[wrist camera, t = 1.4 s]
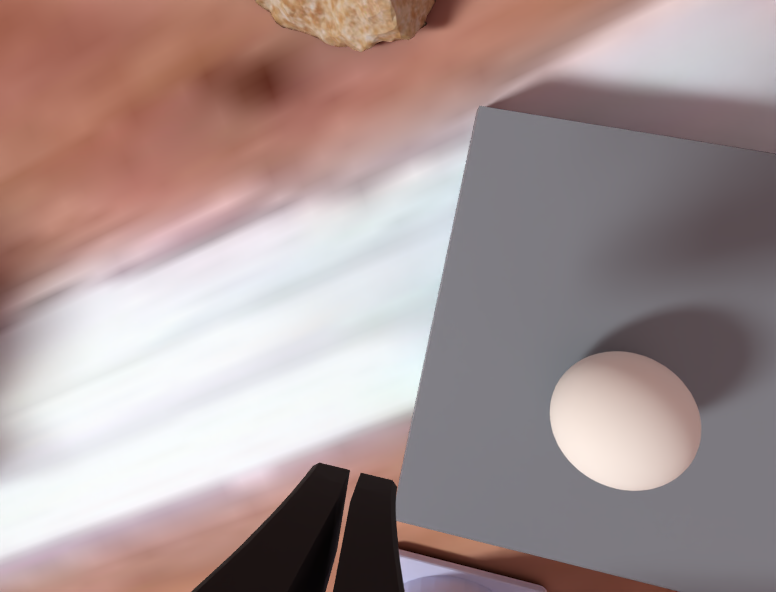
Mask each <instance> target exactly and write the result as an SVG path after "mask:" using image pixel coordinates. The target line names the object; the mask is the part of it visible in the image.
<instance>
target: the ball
mask: <svg viewBox="0 0 776 592" xmlns="http://www.w3.org/2000/svg"><path fill="white" fill-rule="evenodd" d="M550 422H551V427H552V431H553V434H554V437H555V439H556V442H557V444H558V446H559V448H560V449H561V451H562V452H563V454H564V455H565V457H566V458H567V459H568V460H569V462H571V463H572V464H573V465H574V466H575V467H576V468H577V469H578V470H579V471H580V472H582V473H583V474H584V475H586V476H587V477H589V478H590V479H592V480H594V481H596V482H598V483H600V484H603V485H605V486H608V487H612V488H615V489H620V490H629V491H642V490H649V489H654V488H657V487H660V486H663V485H665V484H667V483H669V482H671V481H673V480H674V479H676V478H677V477H678V476H680V475H681V474H682V473H683V472H684V471H685V470H686V469H687V468H688V467H689V465H690V464H691V463H692V461H693V459H694V458H695V455H696V453H697V451H698V448H699V445H700V440H701V419H700V414H699V410H698V407H697V405H696V402H695V400H694V398H693V396H692V394H691V392H690V391H689V390H688V388H687V387H686V386H685V384H684V383H683V382H682V381H681V379H680V378H679V377H678V376H677V375H675V374H674V373H673V372H672V371H671V370H669V369H668V368H667V367H665V366H664V365H662V364H660V363H658V362H657V361H655V360H653V359H651V358H648V357H646V356H643V355H639V354H635V353H631V352H623V351H612V352H603V353H597V354H594V355H591V356H588V357H586V358H584V359H582V360H580V361H578V362H577V363H575V364H574V365H573V366H571V367H570V368H569V369H568V370H567V371H566V372H565V373H564V374H563V376H562V377H561V378H560V380H559V381H558V383H557V385H556V387H555V389H554V392H553V394H552V398H551V402H550Z"/></svg>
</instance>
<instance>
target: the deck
mask: <svg viewBox="0 0 776 592" xmlns="http://www.w3.org/2000/svg"><path fill="white" fill-rule="evenodd" d="M612 351H623V352H631V353H635V354H639V355H643V356H646V357H648V358H651V359H653V360H655V361H657V362H658V363H660V364H662V365H664V366H665V367H667V368H668V369H669V370H671V371H672V372H673V373H674V374H675V375H677V376H678V377H679V378H680V379H681V381H682V382H683V383H684V384H685V386H686V387H687V388H688V390H689V391H690V392H691V394H692V396H693V398H694V400H695V402H696V405H697V407H698V410H699V414H700V419H701V440H700V445H699V448H698V451H697V453H696V455H695V458H694V459H693V461H692V463H691V464H690V465H689V467H688V468H687V469H686V470H685V471H684V472H683V473H682V474H681V475H680V476H678V477H677V478H676V479H674V480H673V481H671V482H669V483H667V484H665V485H663V486H660V487H657V488H654V489H649V490H642V491H629V490H620V489H615V488H612V487H608V486H605V485H603V484H600V483H598V482H596V481H594V480H592V479H590V478H589V477H587V476H586V475H584V474H583V473H582V472H580V471H579V470H578V469H577V468H576V467H575V466H574V465H573V464H572V463H571V462H569V460H568V459H567V458H566V457H565V455H564V454H563V452H562V451H561V449H560V448H559V446H558V444H557V442H556V439H555V437H554V434H553V431H552V427H551V422H550V402H551V398H552V394H553V392H554V389H555V387H556V385H557V383H558V381H559V380H560V378H561V377H562V376H563V374H564V373H565V372H566V371H567V370H568V369H569V368H570V367H571V366H573V365H574V364H575V363H577V362H578V361H580V360H582V359H584V358H586V357H588V356H591V355H594V354H597V353H603V352H612ZM396 521H399V522H403V523H407V524H411V525H415V526H419V527H423V528H427V529H431V530H435V531H439V532H443V533H447V534H451V535H455V536H459V537H463V538H467V539H471V540H475V541H479V542H483V543H487V544H491V545H495V546H499V547H503V548H507V549H511V550H515V551H519V552H523V553H527V554H531V555H535V556H539V557H543V558H547V559H551V560H555V561H559V562H563V563H567V564H571V565H575V566H579V567H583V568H587V569H591V570H595V571H599V572H603V573H607V574H611V575H615V576H619V577H623V578H627V579H631V580H635V581H639V582H643V583H647V584H651V585H655V586H659V587H663V588H667V589H671V590H675V591H679V592H776V154H774V153H768V152H762V151H755V150H749V149H743V148H737V147H731V146H725V145H718V144H712V143H706V142H700V141H694V140H688V139H681V138H675V137H669V136H663V135H657V134H651V133H644V132H638V131H632V130H626V129H620V128H614V127H607V126H601V125H595V124H589V123H583V122H576V121H570V120H564V119H558V118H552V117H546V116H539V115H533V114H527V113H521V112H515V111H509V110H502V109H496V108H490V107H484V106H479V108H478V110H477V113H476V118H475V122H474V127H473V132H472V137H471V141H470V146H469V151H468V156H467V160H466V165H465V170H464V175H463V179H462V184H461V189H460V194H459V198H458V203H457V208H456V213H455V217H454V222H453V227H452V232H451V236H450V241H449V246H448V251H447V255H446V260H445V265H444V270H443V274H442V279H441V284H440V289H439V293H438V298H437V303H436V308H435V312H434V317H433V322H432V327H431V331H430V336H429V341H428V346H427V350H426V355H425V360H424V365H423V369H422V374H421V379H420V384H419V388H418V393H417V398H416V403H415V407H414V412H413V417H412V422H411V426H410V431H409V436H408V441H407V445H406V450H405V455H404V460H403V464H402V469H401V474H400V479H399V484H398V490H397V495H396Z"/></svg>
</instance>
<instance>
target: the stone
mask: <svg viewBox="0 0 776 592" xmlns="http://www.w3.org/2000/svg"><path fill="white" fill-rule="evenodd" d="M255 1H256V2H257V4H258V5H260V6H261V7H263V8H264V9H266V10H267V11H269V12H270V13H271V15H272V17H273V18H274V20H275V22H276V23H277V24H279V25H280V26H281V27H284V28H288V29H292V30H296V31H300V32H304V33H307V34H309V35H312V36H314V37H316V38H318V39H320V40H322V41H323V42H324V43H326V44H329V45H332V46H337V47H345V46H349V47H350V48H351V49H353V50H356V51H360V52H362V51H365V50H366V49H369V48H371V47H373V46H374V45H375V44H376V43H378V42H381V41H387V42H393V41H396V40H400V39H403V40H409V39H411V38H413V37H414V36H415V34H416V33H417V31H418V30H419V29H421V28H422V27H424V26H425V25H426V24H427V23H426V22H425V21H426V17H427V15H428V13H429V12H430V10H431V8H432V7H433V5H434V3H435V0H255Z"/></svg>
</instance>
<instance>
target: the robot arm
mask: <svg viewBox="0 0 776 592" xmlns="http://www.w3.org/2000/svg"><path fill="white" fill-rule="evenodd" d="M349 473H350V470H347V469H343V468H339V467H335V466H331V465H327V464H322V463H318V464H316V465H314V466H313V467H312V468H311V469H310V471H309V472H308V473H307V474H306V476H305V477H304V478H303V479H302V481H301V482H300V483H299V484H298V485H297V487H296V488H295V489H294V490H293V491H292V492H291V494H290V495H289V496H288V497H287V498H286V499H285V500H284V501H283V502H282V504H281V505H280V506H279V507H278V508H277V509H276V510H275V511H274V512H273V513H272V514H271V515H270V517H269V518H268V519H267V520H266V521H265V522H264V523H263V524H262V525H261V526H260V527H259V528H258V529H257V530H256V531H255V532H254V533H253V534H252V535H251V536H250V537H249V538H248V539H247V540H246V541H245V542H244V543H243V544H242V545H241V546H240V547H239V548H238V549H237V550H236V551H235V552H234V553H233V554H232V555H231V556H230V557H229V558H227V559H226V560H225V561H224V562H223V563H222V564H221V565H220V566H219V567H218V568H217V569H215V570H214V571H213V572H212V573H211V574H210V575H209V576H208V577H207V578H206V579H205V580H204V581H202V582H201V583H200V584H199V585H198V586H197V587H196V588H195V589H194V590H193V591H192V592H325V591H326V588H327V584H328V581H329V577H330V574H331V570H332V566H333V563H334V559H335V555H336V552H337V547H338V541H339V534H340V528H341V522H342V516H343V510H344V504H345V497H346V491H347V485H348V479H349ZM396 491H397V486H396V485H395V483H394V482H393V480H389V479H384V478H380V477H376V476H372V475H368V474H364V473H361V474H360V477H359V479H358V482H357V485H356V487H355V490H354V493H353V496H352V499H351V501H350V506H349V511H348V516H347V522H346V527H345V532H344V537H343V542H342V548H341V553H340V558H339V563H338V568H337V574H336V579H335V584H334V589H333V592H547V590H546V589H545V588H544V587H543V586H540V585H537V584H533V583H529V582H526V581H522V580H518V579H514V578H510V577H506V576H502V575H498V574H494V573H490V572H486V571H483V570H479V569H475V568H471V567H467V566H463V565H459V564H455V563H451V562H447V561H444V560H440V559H436V558H432V557H428V556H424V555H420V554H416V553H412V552H408V551H404V550H401V549H399V548H398V538H397V526H396Z"/></svg>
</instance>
